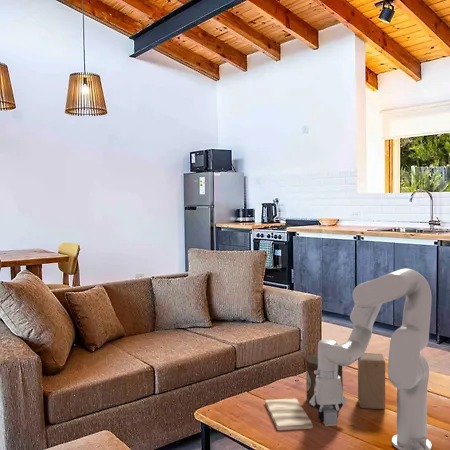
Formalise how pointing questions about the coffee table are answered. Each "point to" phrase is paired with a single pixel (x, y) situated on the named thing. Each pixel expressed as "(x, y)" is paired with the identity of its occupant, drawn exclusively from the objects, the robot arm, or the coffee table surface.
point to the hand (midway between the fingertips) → (328, 419)
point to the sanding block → (329, 415)
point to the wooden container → (311, 377)
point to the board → (288, 414)
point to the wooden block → (371, 381)
